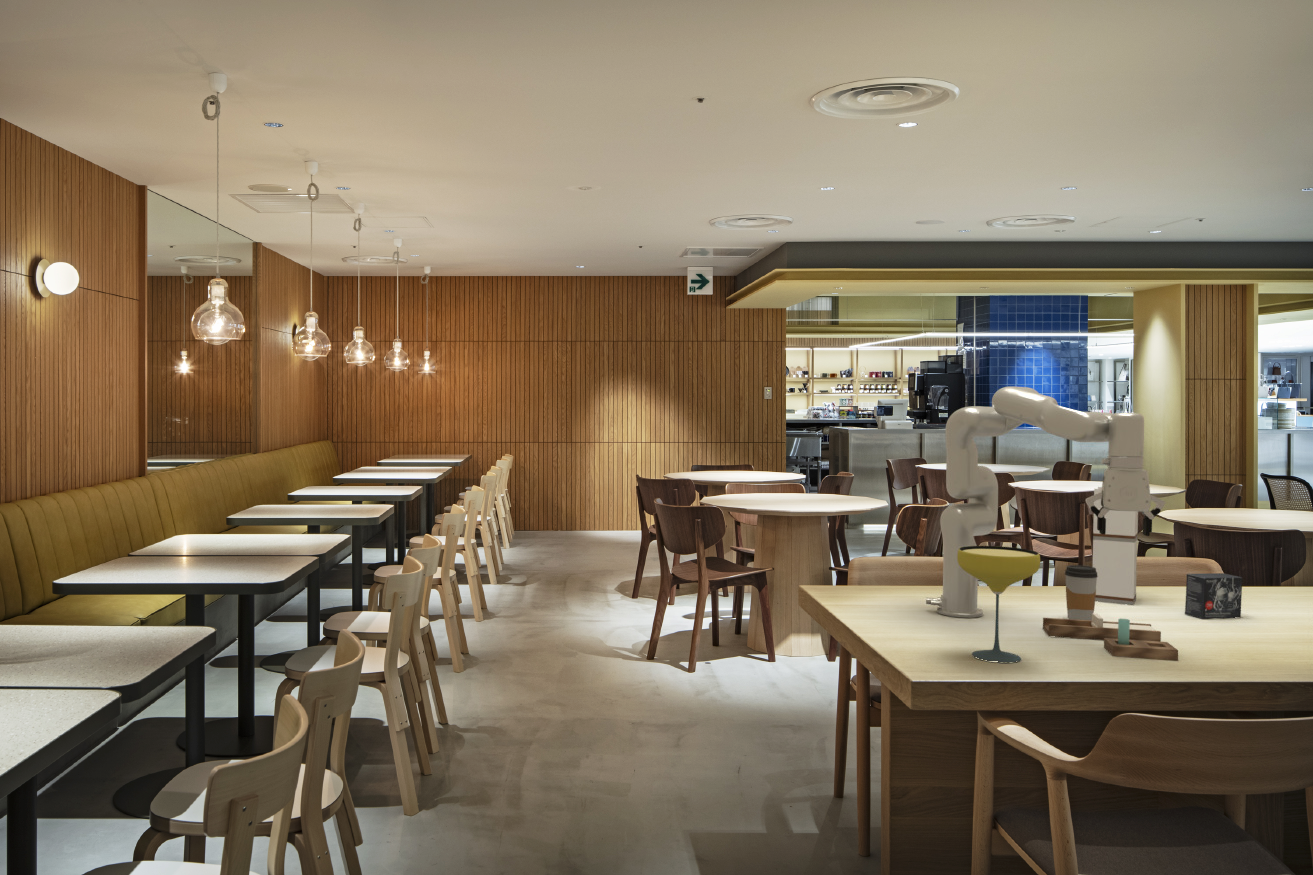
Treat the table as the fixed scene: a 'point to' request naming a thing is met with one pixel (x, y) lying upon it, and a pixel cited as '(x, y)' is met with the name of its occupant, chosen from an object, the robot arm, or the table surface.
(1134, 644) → the pin board
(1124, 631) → the pin
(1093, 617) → the lid
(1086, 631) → the board
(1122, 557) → the mini fridge
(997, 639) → the cocktail glass
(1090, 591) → the coffee cup
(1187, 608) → the small box
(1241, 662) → the table surface
